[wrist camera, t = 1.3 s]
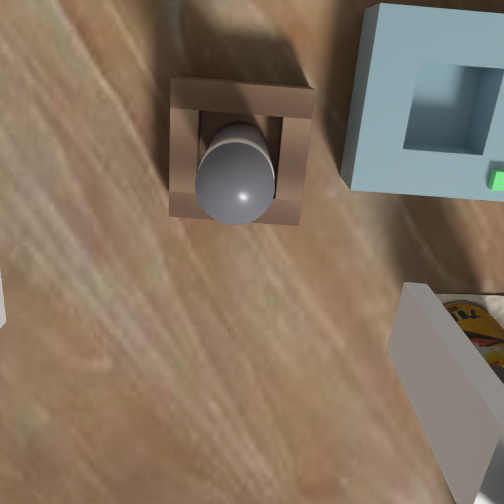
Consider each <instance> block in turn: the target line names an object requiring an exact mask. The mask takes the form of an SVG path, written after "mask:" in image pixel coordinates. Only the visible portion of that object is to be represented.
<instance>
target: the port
mask: <svg viewBox="0 0 504 504" xmlns="http://www.w3.org/2000/svg"><path fill="white" fill-rule="evenodd" d="M340 177H341V178H342V179H343V181H344V182H345V183H346V185H347V186H348V187H349V189H350V190H356V191H369V192H383V193H396V194H409V195H423V196H436V197H450V198H463V199H476V200H490V201H503V202H504V14H501V13H490V12H478V11H467V10H456V9H444V8H433V7H422V6H410V5H399V4H388V3H379V4H376V5H374V6H371V7H369V8H366V9H365V11H364V17H363V24H362V31H361V38H360V44H359V51H358V58H357V64H356V71H355V78H354V84H353V91H352V98H351V105H350V111H349V118H348V125H347V131H346V138H345V145H344V152H343V158H342V165H341V172H340Z"/></svg>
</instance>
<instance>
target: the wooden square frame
mask: <svg viewBox="0 0 504 504" xmlns="http://www.w3.org/2000/svg"><path fill="white" fill-rule="evenodd" d="M314 96H315V89H313V88H311V87H308V86H296V85H283V84H271V83H259V82H247V81H235V80H222V79H210V78H198V77H186V76H175V77H172V78H170V159H169V217H183V218H197V219H211V220H215V219H213V218H212V217H211V216H209V215H208V214H207V213H206V212H205V211H204V210H203V208H202V207H201V205H200V204H199V201H198V199H197V196H196V191H195V180H196V175H197V172H198V168H199V165H200V163H201V161H202V158H203V157H204V155H205V153H206V152H207V150H208V147H209V145H210V143H211V141H212V138H213V136H214V135H215V133H216V132H217V131H218V130H219V128H221V127H222V126H223V125H225V124H227V123H230V122H233V121H244V122H248V123H250V124H252V125H254V126H256V127H257V128H258V129H259V130H260V131H261V132H262V134H263V135H264V137H265V139H266V142H267V146H268V151H269V156H270V160H271V163H272V167H273V171H274V182H275V191H274V196H273V200H272V202H271V204H270V206H269V207H268V209H267V210H266V211H265V213H264V214H262V215H261V216H260V217H259V218H257V219H256V220H254V221H252V223H266V224H280V225H294V226H299V220H300V211H301V203H302V195H303V187H304V178H305V170H306V162H307V154H308V145H309V137H310V129H311V121H312V112H313V104H314Z"/></svg>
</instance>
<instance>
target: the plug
mask: <svg viewBox="0 0 504 504" xmlns="http://www.w3.org/2000/svg"><path fill="white" fill-rule="evenodd" d="M195 191H196V196H197V199H198V201H199V204H200V205H201V207H202V208H203V210H204V211H205V212H206V213H207V214H208V215H209V216H211V217H212V218H213V219H215V220H217V221H219V222H221V223H225V224H229V225H242V224H246V223H249V222H252V221H254V220H256V219H257V218H259V217H260V216H261V215H262V214H264V213H265V211H266V210H267V209H268V207H269V206H270V204H271V202H272V200H273V196H274V191H275V182H274V171H273V167H272V163H271V160H270V156H269V151H268V146H267V142H266V139H265V137H264V135H263V134H262V132H261V131H260V130H259V129H258V128H257V127H256V126H254V125H252V124H250V123H248V122H244V121H233V122H230V123H227V124H225V125H223V126H222V127H221V128H219V130H218V131H217V132H216V133H215V135H214V136H213V138H212V141H211V143H210V145H209V147H208V150H207V152H206V153H205V155H204V157H203V158H202V161H201V163H200V165H199V168H198V172H197V175H196V180H195Z"/></svg>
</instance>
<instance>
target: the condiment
mask: <svg viewBox="0 0 504 504" xmlns="http://www.w3.org/2000/svg"><path fill="white" fill-rule="evenodd" d="M435 295H436V297H437V298H438V299H439V300H440V302H441V303H442V304H443V306H444V307H445V308H446V310H447V311H448V312H449V314H450V315H451V316H452V317H453V319H454V320H455V321H456V323H457V324H458V325H459V327H460V328H461V329H462V331H463V332H464V333H465V335H466V336H467V337H468V338H469V340H470V341H471V342H472V344H473V345H474V346H475V348H476V349H477V350H478V352H479V353H480V354H481V355H482V357H483V358H484V359H485V361H486V362H487V363H488V365H498V366H502V367H503V368H504V296H495V295H472V294H435ZM491 315H492V316H491ZM494 317H496V319H494Z"/></svg>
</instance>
